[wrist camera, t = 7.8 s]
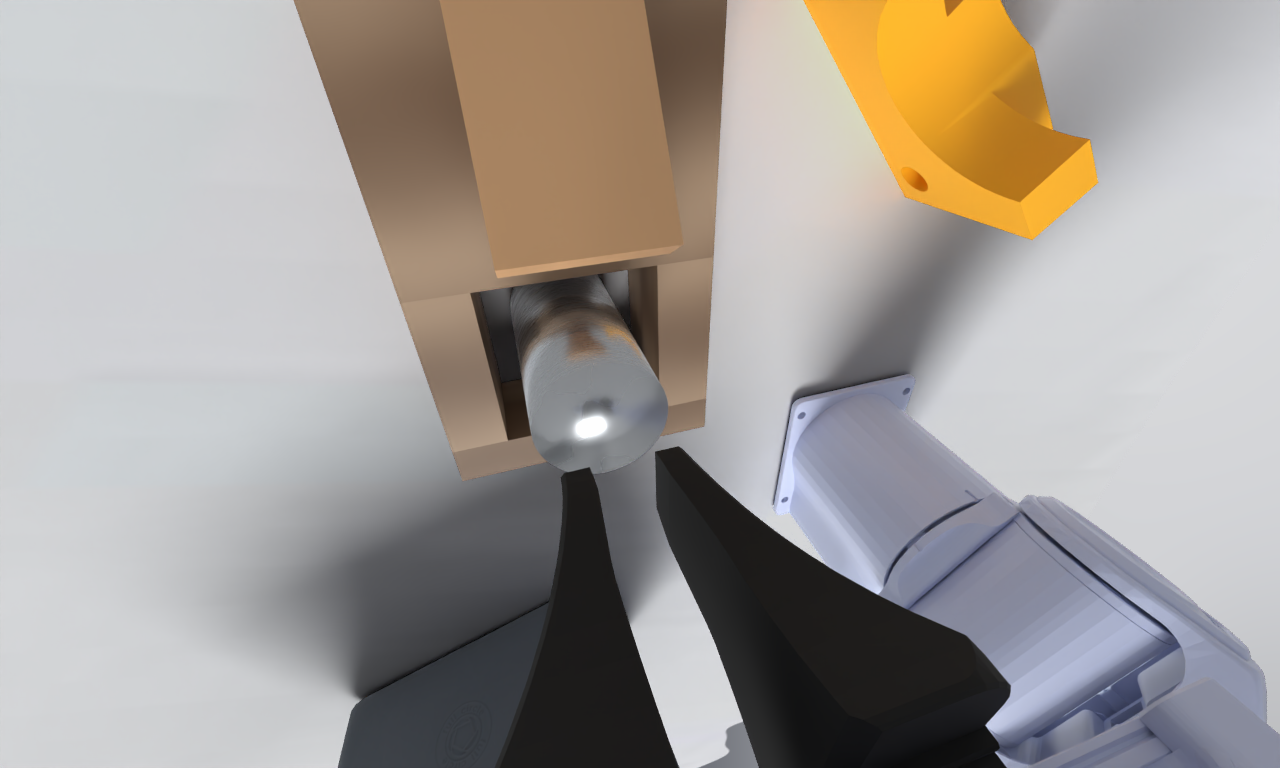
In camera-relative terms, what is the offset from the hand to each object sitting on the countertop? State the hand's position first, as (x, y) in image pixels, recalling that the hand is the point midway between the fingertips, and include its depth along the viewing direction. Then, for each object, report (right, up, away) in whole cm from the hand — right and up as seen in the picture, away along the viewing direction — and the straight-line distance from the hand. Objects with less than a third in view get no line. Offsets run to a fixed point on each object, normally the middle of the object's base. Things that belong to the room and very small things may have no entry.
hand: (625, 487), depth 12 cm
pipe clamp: (+10, +16, +6) cm, 20 cm away
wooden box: (-3, +9, +6) cm, 11 cm away
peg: (-3, +6, +8) cm, 10 cm away
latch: (-2, +9, -1) cm, 10 cm away
